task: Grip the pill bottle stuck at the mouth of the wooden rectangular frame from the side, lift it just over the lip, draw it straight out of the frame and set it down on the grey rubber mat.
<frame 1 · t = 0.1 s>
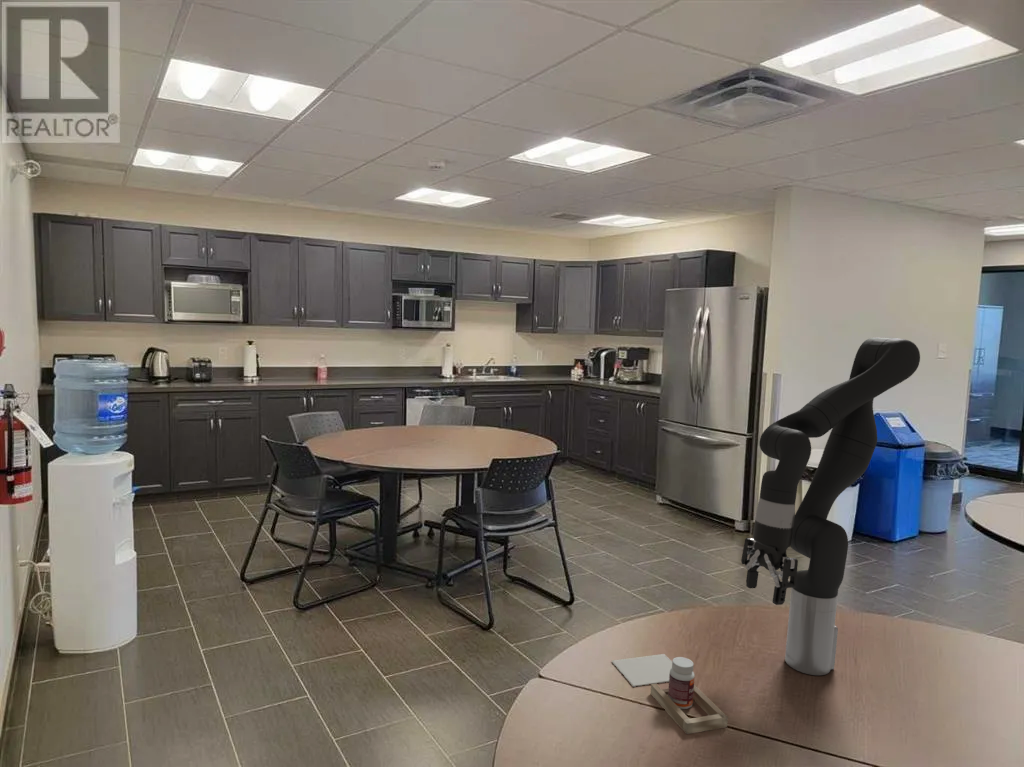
hand: (764, 595, 138), 17 cm above the table, tool pointing down, fingers open, 8 cm apart
wooden rectangular frame: (687, 709, 125), on the table
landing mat: (649, 670, 139), on the table
pill bottle: (680, 703, 128), resting in wooden rectangular frame
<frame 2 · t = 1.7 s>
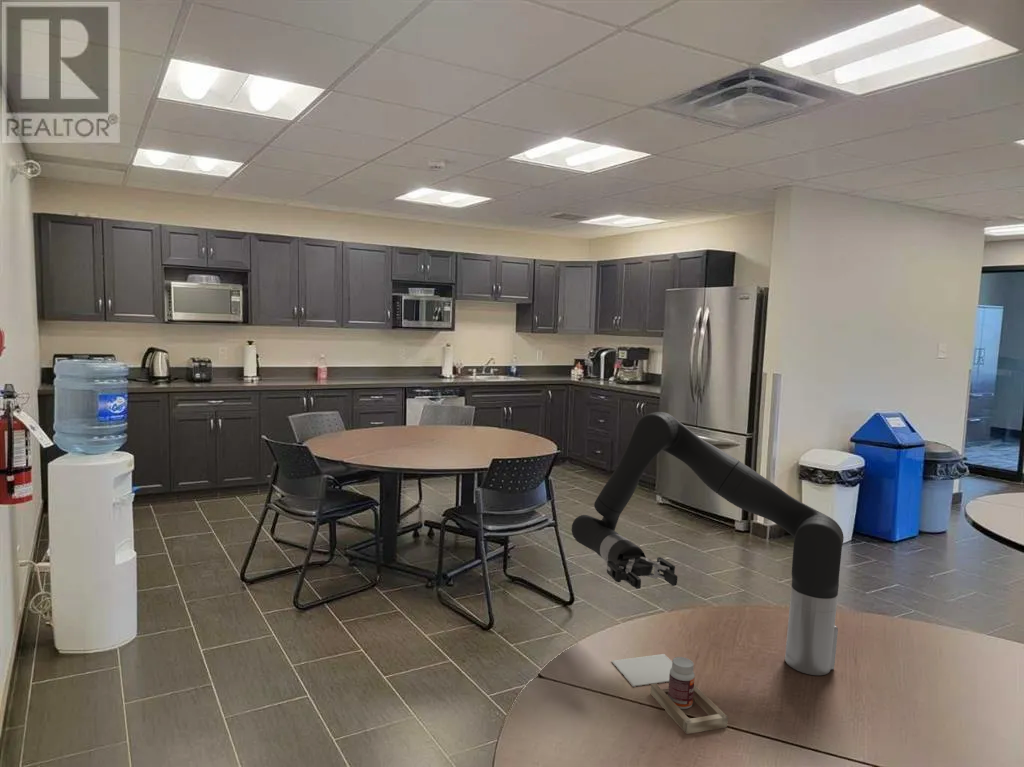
hand: (657, 582, 136), 20 cm above the table, tool horizontal, fingers open, 8 cm apart
nothing on the table moved.
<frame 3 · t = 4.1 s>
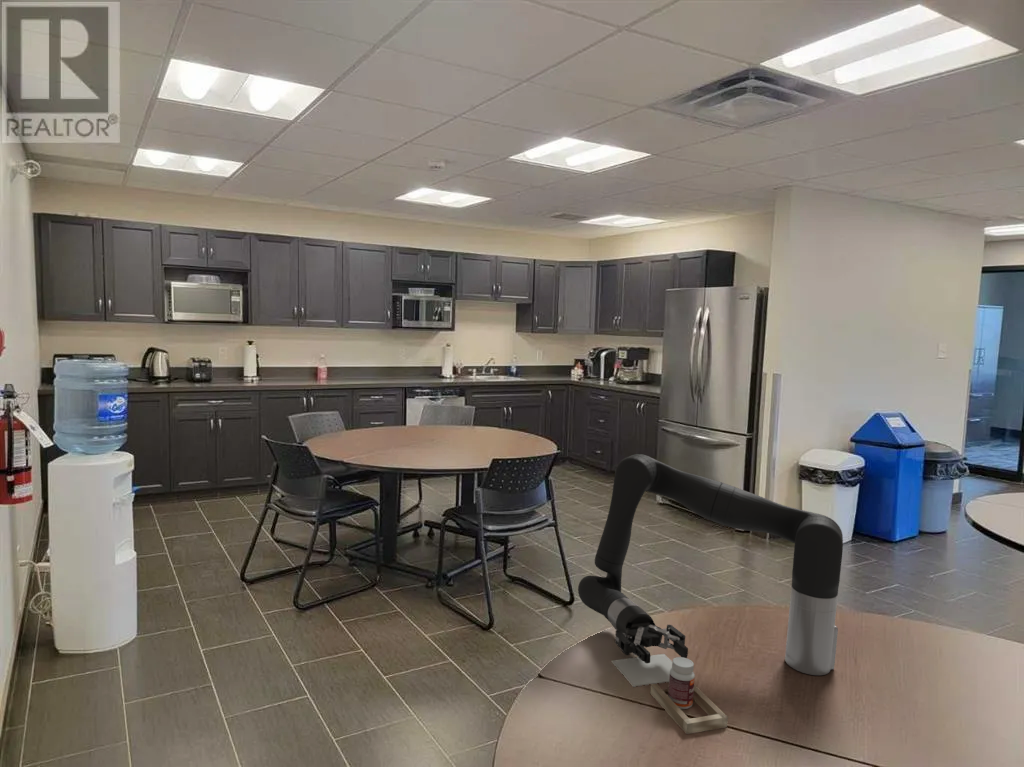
hand: (667, 656, 132), 6 cm above the table, tool horizontal, fingers open, 8 cm apart
nothing on the table moved.
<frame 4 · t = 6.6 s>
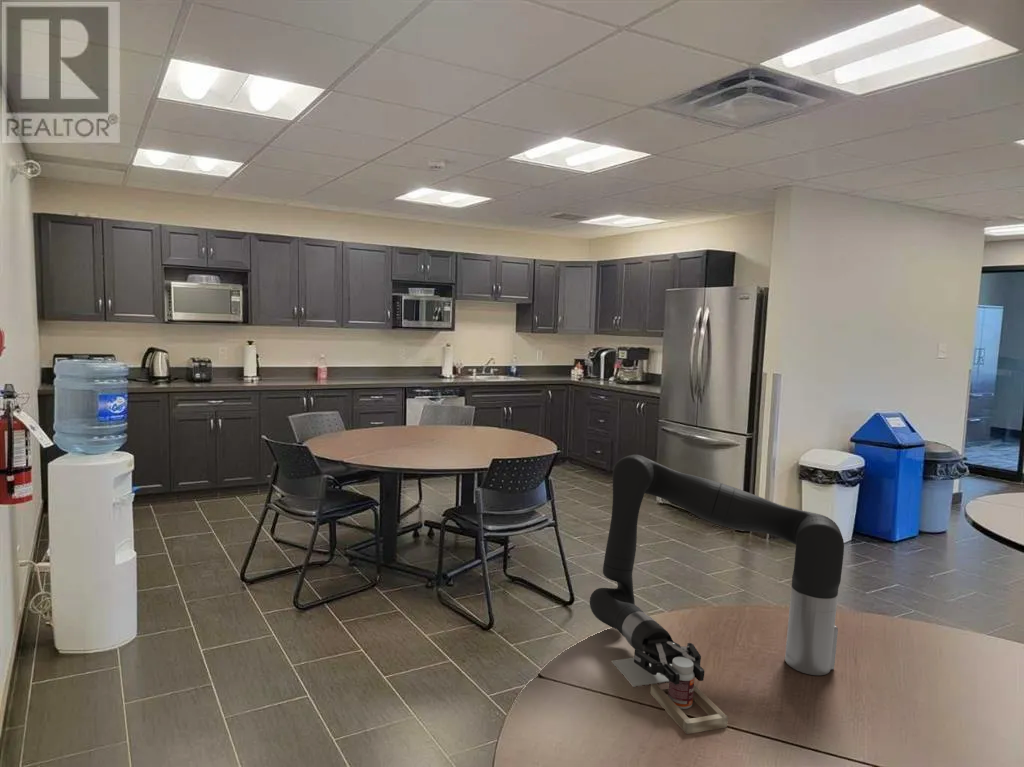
hand: (690, 678, 124), 7 cm above the table, tool horizontal, fingers closed on pill bottle, 4 cm apart
pill bottle: (680, 703, 128), resting in wooden rectangular frame, touching gripper
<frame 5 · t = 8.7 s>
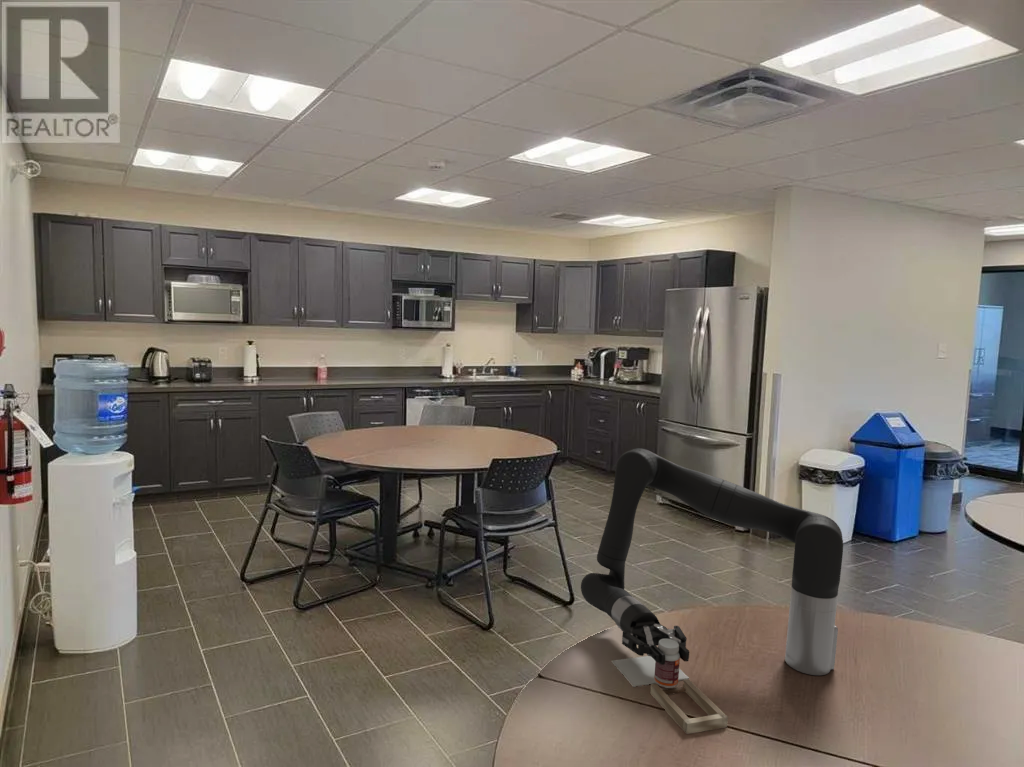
hand: (675, 658, 129), 8 cm above the table, tool horizontal, fingers closed on pill bottle, 4 cm apart
pill bottle: (665, 683, 133), point 1 cm above the table, touching gripper
when the fingers open (8 cm above the table, at t = 11.2 s): pill bottle stays where it is, resting on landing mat.
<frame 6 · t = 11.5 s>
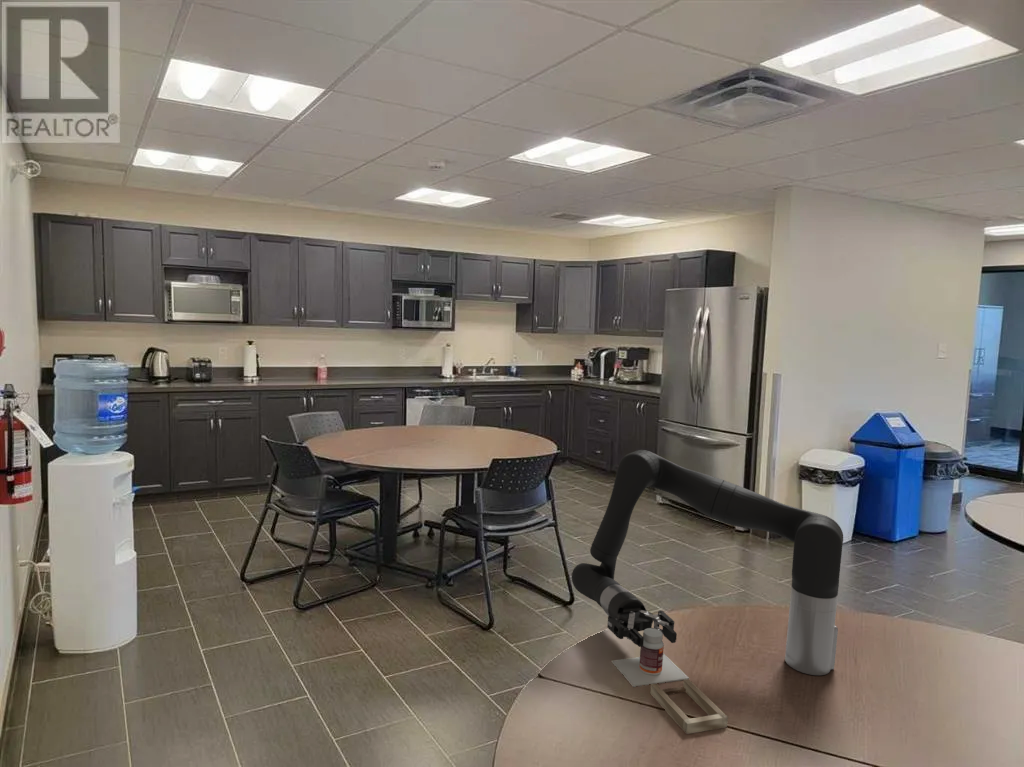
hand: (658, 640, 136), 8 cm above the table, tool horizontal, fingers open, 7 cm apart
pill bottle: (650, 670, 139), resting on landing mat
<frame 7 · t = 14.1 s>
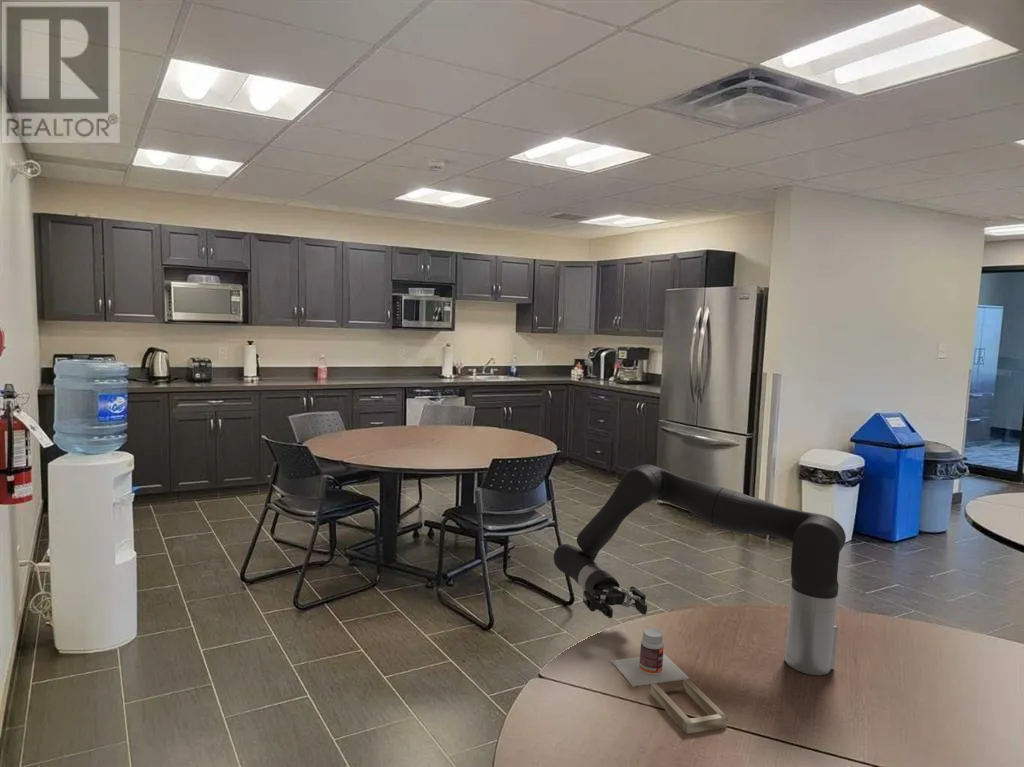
hand: (628, 612, 148), 8 cm above the table, tool horizontal, fingers open, 8 cm apart
nothing on the table moved.
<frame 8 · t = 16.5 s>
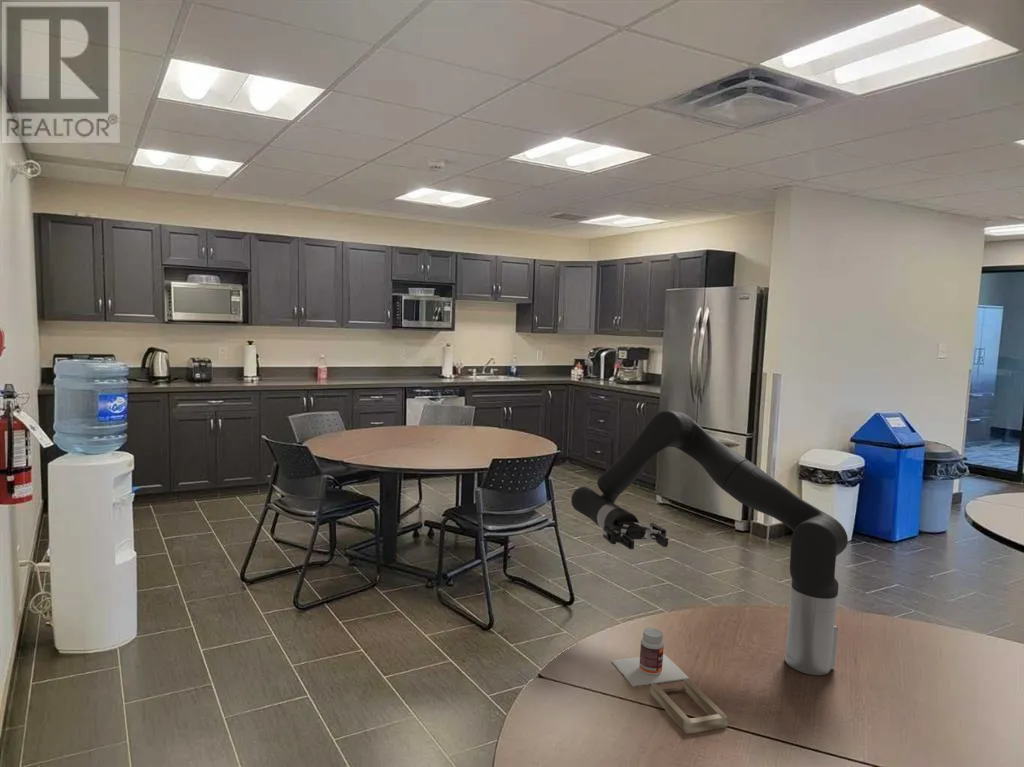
hand: (649, 544, 147), 24 cm above the table, tool horizontal, fingers open, 8 cm apart
nothing on the table moved.
at the end: pill bottle inside the target area (0.1 cm from its centre), resting on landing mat; pill bottle tilted 0°; the gripper is holding nothing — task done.
